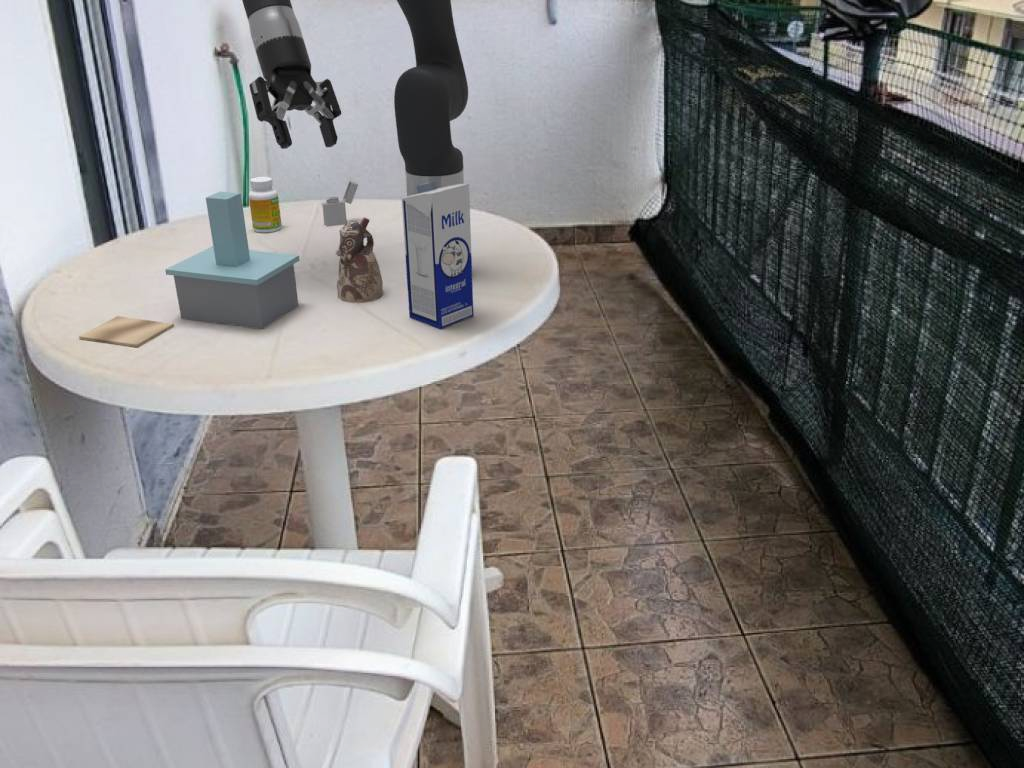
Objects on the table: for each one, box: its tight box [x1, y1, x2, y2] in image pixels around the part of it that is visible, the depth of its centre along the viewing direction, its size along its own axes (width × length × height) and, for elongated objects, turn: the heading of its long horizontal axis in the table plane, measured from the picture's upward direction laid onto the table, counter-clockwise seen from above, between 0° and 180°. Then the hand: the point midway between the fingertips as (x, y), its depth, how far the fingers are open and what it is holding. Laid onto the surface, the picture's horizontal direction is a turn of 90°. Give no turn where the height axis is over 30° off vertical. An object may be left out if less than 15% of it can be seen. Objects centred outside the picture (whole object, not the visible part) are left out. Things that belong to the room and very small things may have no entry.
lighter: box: [321, 180, 359, 227], centre depth 183 cm, size 7×2×8 cm, turn 116°
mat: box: [78, 315, 175, 348], centre depth 135 cm, size 10×8×1 cm
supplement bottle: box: [248, 176, 282, 234], centre depth 179 cm, size 5×5×10 cm
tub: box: [173, 264, 299, 330], centre depth 141 cm, size 14×10×7 cm
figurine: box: [335, 217, 384, 303], centre depth 146 cm, size 7×7×12 cm
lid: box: [164, 191, 301, 285], centre depth 137 cm, size 15×11×11 cm
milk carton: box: [400, 181, 474, 330], centre depth 135 cm, size 7×7×20 cm
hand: (309, 146), depth 145 cm, fingers open, 8 cm apart
